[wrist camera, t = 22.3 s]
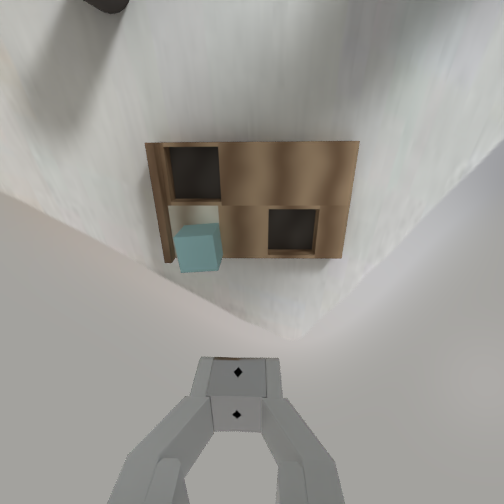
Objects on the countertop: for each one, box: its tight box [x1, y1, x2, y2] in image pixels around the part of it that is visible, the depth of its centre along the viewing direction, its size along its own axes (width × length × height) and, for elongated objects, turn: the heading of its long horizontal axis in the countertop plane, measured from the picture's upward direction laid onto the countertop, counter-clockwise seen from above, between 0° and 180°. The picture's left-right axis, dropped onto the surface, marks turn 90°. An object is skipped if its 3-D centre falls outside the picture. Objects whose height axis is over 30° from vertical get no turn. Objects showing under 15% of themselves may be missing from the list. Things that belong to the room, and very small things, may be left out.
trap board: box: [145, 141, 360, 263], centre depth 34 cm, size 26×16×4 cm, turn 90°
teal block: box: [173, 223, 223, 273], centre depth 34 cm, size 5×5×5 cm
